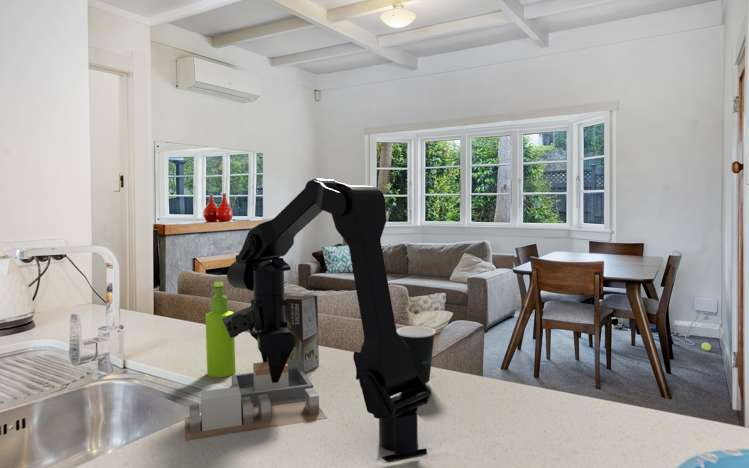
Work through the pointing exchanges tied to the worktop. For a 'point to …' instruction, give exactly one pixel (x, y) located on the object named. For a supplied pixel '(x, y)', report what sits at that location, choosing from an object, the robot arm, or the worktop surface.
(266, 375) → the block
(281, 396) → the tray
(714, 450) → the worktop surface
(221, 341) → the soap dispenser
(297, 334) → the coffee box
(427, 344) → the dixie cup
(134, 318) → the worktop surface
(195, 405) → the board
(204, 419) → the block
